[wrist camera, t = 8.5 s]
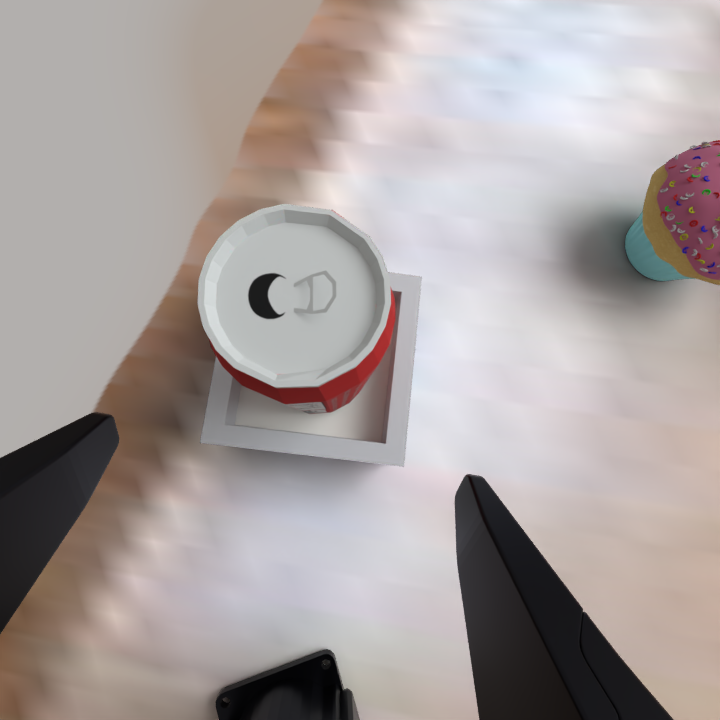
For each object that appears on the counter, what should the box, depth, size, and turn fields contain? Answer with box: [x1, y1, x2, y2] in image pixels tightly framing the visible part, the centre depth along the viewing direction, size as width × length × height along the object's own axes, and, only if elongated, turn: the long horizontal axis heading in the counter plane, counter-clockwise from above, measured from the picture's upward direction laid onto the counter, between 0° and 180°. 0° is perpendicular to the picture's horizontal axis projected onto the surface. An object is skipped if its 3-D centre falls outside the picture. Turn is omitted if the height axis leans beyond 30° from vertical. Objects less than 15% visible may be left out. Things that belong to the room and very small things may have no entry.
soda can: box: [198, 204, 396, 414], centre depth 15 cm, size 6×6×12 cm
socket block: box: [200, 272, 422, 467], centre depth 21 cm, size 10×10×4 cm
